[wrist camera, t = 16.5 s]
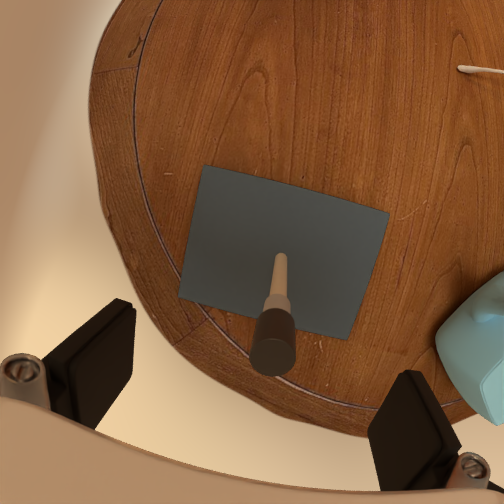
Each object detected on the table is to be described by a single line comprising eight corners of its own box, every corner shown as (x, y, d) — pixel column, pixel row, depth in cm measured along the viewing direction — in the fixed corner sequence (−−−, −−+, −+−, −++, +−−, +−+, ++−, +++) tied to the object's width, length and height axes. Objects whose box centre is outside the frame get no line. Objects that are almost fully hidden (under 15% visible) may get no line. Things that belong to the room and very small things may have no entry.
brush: (268, 266, 27) (244, 371, 12) (273, 245, 27) (255, 333, 12) (288, 271, 27) (288, 381, 12) (294, 251, 27) (301, 344, 12)
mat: (179, 295, 29) (177, 297, 29) (205, 164, 26) (203, 164, 26) (346, 337, 28) (347, 340, 28) (388, 213, 26) (390, 213, 25)
